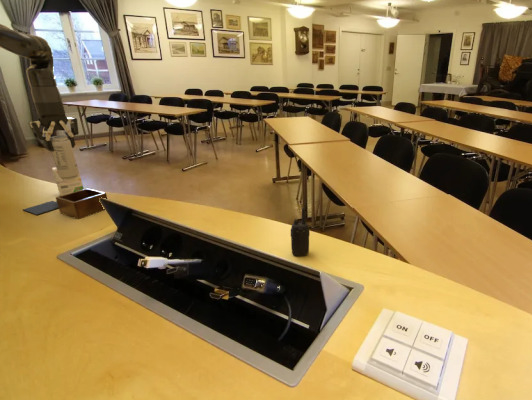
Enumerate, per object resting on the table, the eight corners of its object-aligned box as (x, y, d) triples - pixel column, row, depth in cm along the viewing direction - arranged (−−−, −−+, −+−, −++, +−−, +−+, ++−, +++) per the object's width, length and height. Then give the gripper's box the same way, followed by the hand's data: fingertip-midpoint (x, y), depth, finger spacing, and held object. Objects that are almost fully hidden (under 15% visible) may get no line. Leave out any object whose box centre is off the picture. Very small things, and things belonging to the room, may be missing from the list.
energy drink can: (83, 176, 120) (73, 136, 115) (66, 180, 115) (55, 139, 110) (72, 174, 122) (61, 134, 117) (55, 178, 117) (43, 137, 111)
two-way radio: (308, 250, 98) (308, 205, 92) (310, 258, 94) (310, 211, 88) (290, 251, 97) (289, 206, 91) (291, 259, 93) (290, 212, 87)
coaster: (36, 215, 119) (36, 214, 119) (23, 210, 123) (22, 209, 123) (66, 206, 127) (66, 205, 127) (52, 201, 131) (52, 200, 131)
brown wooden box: (78, 219, 117) (73, 203, 114) (60, 213, 121) (55, 197, 119) (109, 207, 126) (105, 192, 124) (92, 202, 131) (88, 188, 129)
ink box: (82, 188, 146) (75, 163, 142) (84, 191, 143) (77, 166, 138) (59, 193, 141) (51, 167, 136) (60, 196, 137) (52, 169, 133)
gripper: (65, 98, 116) (77, 144, 122) (16, 101, 104) (32, 151, 110) (77, 99, 113) (89, 146, 119) (28, 102, 101) (44, 154, 107)
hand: (61, 149), depth 115 cm, fingers closed on energy drink can, 6 cm apart
